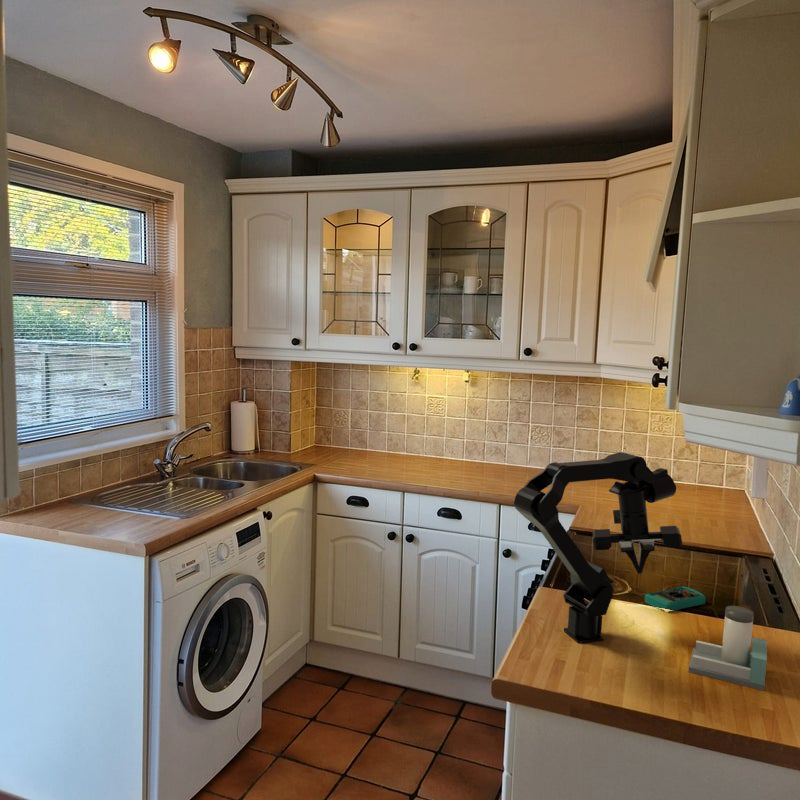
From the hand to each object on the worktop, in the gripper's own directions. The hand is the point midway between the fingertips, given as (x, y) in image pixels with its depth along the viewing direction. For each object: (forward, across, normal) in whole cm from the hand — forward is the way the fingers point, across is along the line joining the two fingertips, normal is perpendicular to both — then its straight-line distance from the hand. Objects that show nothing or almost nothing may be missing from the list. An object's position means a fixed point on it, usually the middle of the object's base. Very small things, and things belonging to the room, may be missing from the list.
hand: (639, 573), depth 153 cm
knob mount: (+13, -14, +17) cm, 26 cm away
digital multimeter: (+17, -8, -17) cm, 26 cm away
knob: (+12, -16, +17) cm, 26 cm away
